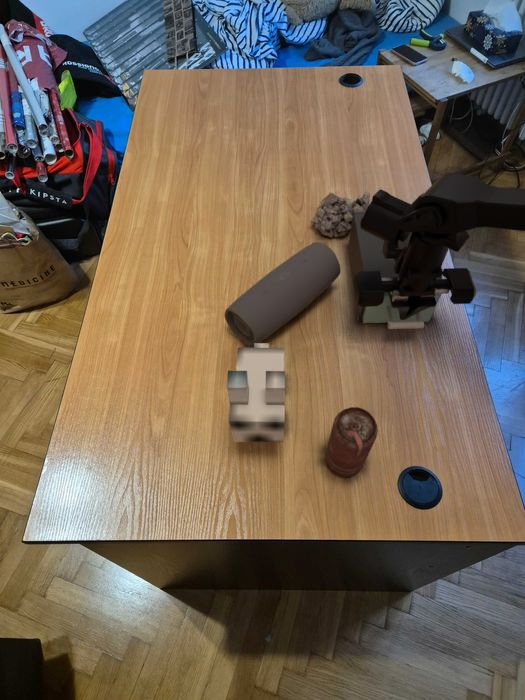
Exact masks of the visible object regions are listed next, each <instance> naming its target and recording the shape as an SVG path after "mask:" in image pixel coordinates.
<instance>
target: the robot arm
mask: <svg viewBox="0 0 525 700" xmlns="http://www.w3.org/2000/svg"><path fill="white" fill-rule="evenodd" d="M360 227H361V229H362V230H364V231H366V232H368V233H370V234H372V235H374V236H376V237H378V238H380V239H382V240H384V244H383V255H384V257H385V258H386V259H394V260H395V262H396V263H395V266H394V271H395V274H398V277H395V278H381V273H380V271H358V272H357V273H356V274H355V278H354V285H355V291H356V297H357V304H358V305H359V306H361V307H372V306H379V305H381V304H382V303H383V301H384V292H388V293H389V298H390V302H391V306H392V307H393V308H398V310H399V316H400V320H406V319H407V318H409V317H411V316H413V315H415V314H417V313H418V312H421V311H423V310H425V309H427V308H430V307H435V306H436V307H437V305H436V300H435V294H441V295H444V294H449V293H450V294H451V295H450V297H449V301H450V302H451V303H452V304H453V305H470V304H471V303H472V302H473V300H474V299H475V297H476V295H477V287H476V285H475V282H474V279H473V277H472V274H471V271H470V270H469V268H468V267H453V268H451V267H450V268H442V266H443V264H444V261H445V259H446V256H447V254H448V252H449V250H451V251H453V252H457V253H458V252H459V251H461V250H462V248H463V247H464V245H465V244H466V243H467V242H468V241H469V240H470V239H471V236H470V234H469V233H468V231H470V230H474V229H481V228H491V229H500V230H508V231H509V230H510V231H518V232H525V188H520V187H519V188H517V187H499V186H494V185H490V184H488V183H487V182H485V181H483V180H482V179H481V178H479V177H478V176H473V175H467V174H462V173H457V172H446V173H444V174H441V175H440V176H438V178H437V179H436V180H435V181H434V183H432V184H431V186H430V187H428V189H427V190H426V191H424V192H423V193H422V194H420V195H419V196H417V197H416V198H415V200H414V201H412V203H409V202H407V201H405V200H403V199H400V198H398V197H396V196H394V195H392V194H390V192H388V191H386V190H383V189H381V188H380V189H378V190H377V191H376V192H375V193H374V194H373V196H372V198H371V201H370V203H369V206H368V208H367V210H366V212H365V214H364V217H363V218H362V219H361V224H360ZM411 232H412V234H411V237H410V238H408V236H409V235H410V233H411ZM441 277H442V279H436V278H441ZM436 307H435V308H436Z"/></svg>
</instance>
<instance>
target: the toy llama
mask: <svg viewBox="0 0 525 700" xmlns="http://www.w3.org/2000/svg"><path fill="white" fill-rule="evenodd" d="M235 366H236V368H235V370H227V377H226V378H227V380H226V390H227V396H228V401H229V415H228V416H229V417H228V422H229V423H228V424H229V428H230V433H231V437H232V440H233V443H235V442H237V443H240V442H241V443H285V405H286V404H285V401H286V399H285V398H286V371H285V347H270V343H269V342H259V343H254V346H253V347H237V351H236V365H235Z"/></svg>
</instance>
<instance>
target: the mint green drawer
mask: <svg viewBox="0 0 525 700" xmlns="http://www.w3.org/2000/svg"><path fill="white" fill-rule="evenodd" d="M441 297H442V294H435V300H436V306H435V307H430V308H427V309H425V310H423V311H421V312H418V313H417V314H415V315H413V316H411V317H409V318H407V319H406V320H400V316H399V310H398V308H393V307H392V306H391V302H390V298H389V293H388V292H384V301H383V303H382V304H381V305H379V306H372V307H365V311H364V314H363V321H362V324H381V323H387V329H388V330H411V329H412V330H413V329H414V330H415V329H416V330H417V329H424V328H425V323H426V322H430V320H431V318H432V316H433V314H434V311H435V309H436V308H437V305H438V303H439V301H440V299H441Z"/></svg>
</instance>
